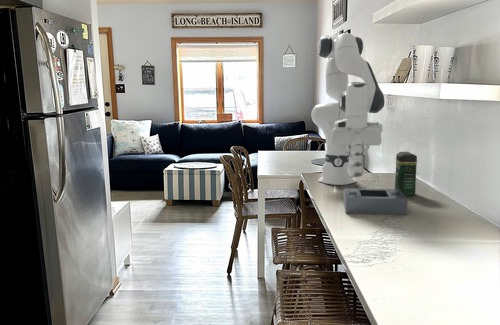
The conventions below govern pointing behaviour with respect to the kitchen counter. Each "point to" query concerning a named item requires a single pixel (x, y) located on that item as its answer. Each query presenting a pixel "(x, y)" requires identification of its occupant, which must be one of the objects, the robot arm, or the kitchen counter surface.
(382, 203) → the grey slotted block
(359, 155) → the silver bottle
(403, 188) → the coffee jar
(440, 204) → the kitchen counter surface
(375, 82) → the robot arm
